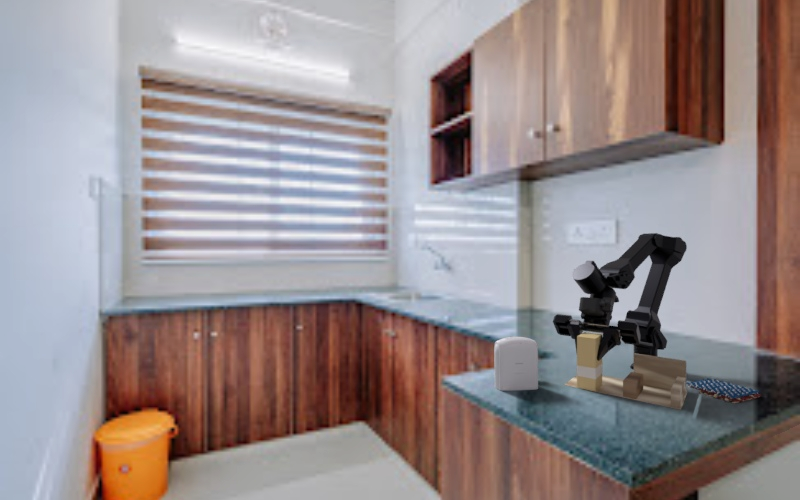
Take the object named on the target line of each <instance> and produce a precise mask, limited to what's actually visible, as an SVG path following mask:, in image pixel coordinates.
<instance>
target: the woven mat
mask: <svg viewBox="0 0 800 500" xmlns="http://www.w3.org/2000/svg"><path fill="white" fill-rule="evenodd" d="M686 385H687V388H694V389H695V390H699V392H698V393H699V394H703V395H705V396H706V395H707V397H713V398H715V399H720V400H723V401H724V402H725V401H726V402H731V403H732V404H737V403H743V402H746V401H750V400H755V399H757V398H760V397H761V396H762V394H759V393H760V392H759V390H755V389H752V388H749V387H745V386H740V385H739V384H733V383H730V382H726V381H723V380H719V379H715V378H713V379H711V378H707V379H705V378H703V380H702V379H699V380H694V381H690V382H687V381H686Z"/></svg>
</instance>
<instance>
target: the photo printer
mask: <svg viewBox="0 0 800 500" xmlns="http://www.w3.org/2000/svg"><path fill="white" fill-rule="evenodd" d="M493 346H494V348H493V351H494V352H493V353H494V355H493V357H494V358H493V359H494V361H493V362H494V363H493V364H494V365H493V366H494V369H493V370H494V371H493V372H494V389H496V390H498V391H503V392H504V391H505V392H507V391H533V390H534V391H535V390H538V389H539V352H538V351H539V347H538V344H537V341H536V340H534V339H532V338H529V337H526V336H525V337H524V336H508V337H503V338H500V339H498V340H496V341H495V342H494V345H493Z"/></svg>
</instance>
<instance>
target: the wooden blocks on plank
mask: <svg viewBox="0 0 800 500" xmlns="http://www.w3.org/2000/svg"><path fill="white" fill-rule="evenodd" d="M633 363H634V368H633V371H630V372H629V374H628V375H627V376H626V377H625V378H619V377H614V376H607V375H604V374H602V386H601V387H600V388H598V389H597V390H596V391H594V392H596V393H600V394H605V395H610V396H615V397H619V398H623V399H629V400H633V401H638V402H642V403H647V404H653V405H656V406H661V407H666V408H671V409H675V410H681V411H682V408H683V406H684V403H685V400H686V397H687V395H688V390H687V384H686V383H687V360H684V359H677V358H671V357H663V356H658V357H657V356H650V355H643V354H637V353H635V354H634V353H633ZM563 386H568V387H573V388H575V389H576V388H577V374H576V375H575V376H574V377H572V378H571V379H569V380H568V381H567V382H566V383H564V384H563ZM577 389H578V388H577ZM579 389H581V390H583V389H582V388H579ZM584 390H585V391H587V390H586V389H584ZM589 391H591V390H589ZM591 392H592V391H591Z"/></svg>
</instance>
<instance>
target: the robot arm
mask: <svg viewBox="0 0 800 500" xmlns="http://www.w3.org/2000/svg"><path fill="white" fill-rule="evenodd" d="M637 238H638V239H637V240H636V241H635V242H633V244H632V245H631V246H630V247H628V248H627V250H626V251H625V252H624V253H623V254H622V255H621V256H620V257H619V258H617V259H615V260H613V261H610V262H607V263H606V264H604V265H603V266H601V267H600V268H599V267H598V265H597V264H596V262H595V260H586V261H585V262H584V263H583V264H580V265H578V266H577V267H576V268H574V269H573V270H572V273H571V277H572V279H573V280H574V282H575V283H576V284H577V285H578V286H579V288H580V289H581V291H582V292H583V293H584V294H587V295H590V296H589V297H587V296H582V297H580V298H579V306H578V311H579V312H581V313H580V318H581V320H583V321H581V320H579V319H573V317H572V315H571V314H562V313H561V314H560V313H557V314H555V315H554V317H553V319H552V323H553V326H554V328H555V330H556V333H557V334H558V335H560V336H566V337H570V338H571V339H573V340H574V343H575V352H576V354H577V336H578V335H580V334H582V333H584V332H586V333H594V334H602V340H601V343H600V347H599V350H598V353H597V360H598V361H600V360H601V359H602V360H603V358H604V357H605V355H606V354H608V352H610V351H611V350H612V349H613V348H614V347H617V346H621V345H622V343H623V344H625V345H626V344H627V345H633V355H634V354H635V353H637V354H643V355H650V356H657V357H659V355H658V353H659V351H658V350H661V351H662V350H664V351H665V349H666V348H667V344H668V340H667V338H666V336H665V335H664V333H663V332H662V330H661V329H662V324H661V320H660V318H659V314H658V313H659V310H660V307H661V304H662V301H663V298H664V294H665V291H666V288H667V284H668V282H669V280H670V279H669V278H670V275H671V273H672V272H671V271H672V270H673V268H674V267H675V266H677V265H678V264H679V263H681V262H682V260H683V257H684V255H685V253H686V252H687V248H688V247H687V243H686V241H684V240H683V239H682V237H681V236H667V235H664V234H661V233H657V232H655V233H654V232H653V233H642V234H640V235H638V237H637ZM648 258H650V261H651V265H650V268H649V271H648V275H647V277H646V281H645V283H644V287H643V290H642V292H641V295H640V300H639V303H638V306H637V307H636V308H635V309H634V310H631V309H628V311H627V312H626V316H625V319H624V320H618V321H617V323H616V325H610V323H611V321H612V319H613V316H612V313H613V310H614V305H615V304H616V303H619V302H620V300H619V297H618V296H617V292H616V291H615V289H616V290H617V289H619V290H626V289H627V288H629V287H630V286H631V284H632V283H633V281H634V279H635V278H636V277H635V272H636V270H637V269H638V268H639V267H640V266H641V264H643V263H644V261H646V259H648ZM630 369H634V362H633V363H632V364H631V365H630Z"/></svg>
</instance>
